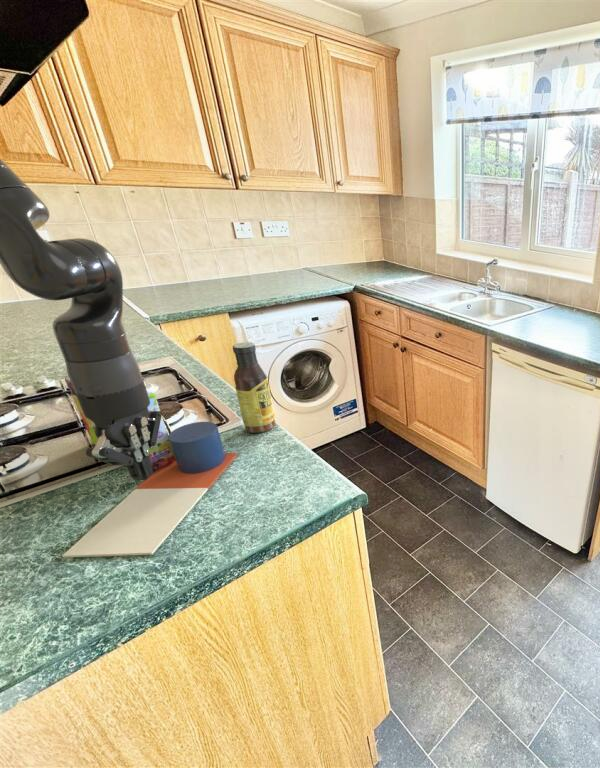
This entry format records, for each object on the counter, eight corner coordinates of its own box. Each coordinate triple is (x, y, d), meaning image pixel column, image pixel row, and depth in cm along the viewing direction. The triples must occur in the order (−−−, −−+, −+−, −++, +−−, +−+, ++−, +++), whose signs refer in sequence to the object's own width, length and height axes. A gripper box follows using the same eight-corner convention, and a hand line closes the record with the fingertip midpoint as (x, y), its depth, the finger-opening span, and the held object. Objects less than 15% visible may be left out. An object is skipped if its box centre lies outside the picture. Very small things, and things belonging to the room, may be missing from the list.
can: (169, 474, 78) (158, 443, 75) (191, 451, 85) (182, 421, 82) (214, 473, 80) (205, 442, 77) (232, 450, 86) (224, 421, 83)
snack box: (180, 459, 83) (156, 391, 76) (147, 475, 78) (118, 403, 72) (123, 431, 91) (96, 367, 84) (90, 444, 86) (59, 377, 80)
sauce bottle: (271, 434, 93) (253, 350, 85) (240, 435, 92) (219, 350, 84) (280, 419, 99) (264, 340, 91) (252, 420, 98) (233, 340, 90)
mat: (62, 557, 61) (61, 555, 61) (174, 455, 84) (174, 453, 84) (152, 554, 62) (151, 552, 62) (237, 454, 86) (237, 453, 86)
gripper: (115, 364, 67) (146, 454, 74) (39, 402, 55) (85, 504, 62) (166, 365, 68) (192, 454, 75) (102, 403, 56) (140, 504, 63)
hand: (143, 477), depth 69 cm, fingers closed
